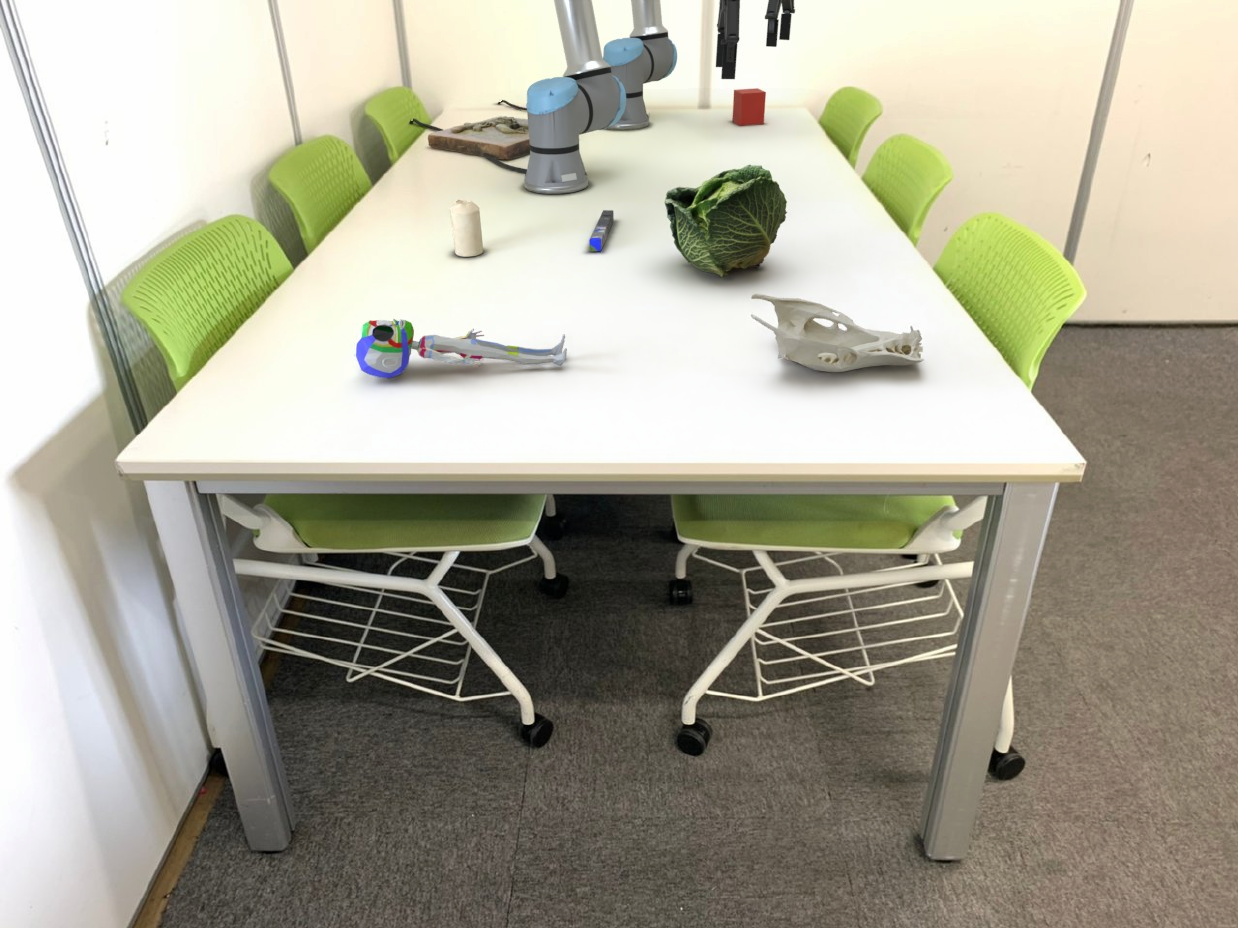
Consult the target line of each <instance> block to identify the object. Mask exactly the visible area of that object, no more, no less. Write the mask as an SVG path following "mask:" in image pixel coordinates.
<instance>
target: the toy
mask: <svg viewBox="0 0 1238 928" xmlns="http://www.w3.org/2000/svg"><path fill="white" fill-rule="evenodd" d="M474 331H475V328H472V329H471V330H469V331H468V332H467V333H466V334H465V335H463V336H458V337H449V336H448V337H447V336H442V335H439V334H428V335H423V336H421V338H420V339H419V341H417V340H414V336H415V329H414V326H413V324H412V322H410V321H408V320H407V319H399V320H397V319H395V318H392V320H387V319H379V320H368V321H367V322H365V323H364V324H362V326H361V329H360V331H359V333H358V334H357V338H356V340H355V342H354V354H353V355H354V357H355V359H356V362H357V364H358V366H359V369H360V370H361V372H364V373H366V374H367V375H370V376H373V377H377V378H382V379H383V378H384V379H392V378H394V377H396V376H398V375H400V374H401V375H402V374H403V372H404V371H405V370H406V368H407V367H408V366H409V364H410V357H411V355H412V350H415V351H417V353H418V356H419V357H421V358H422V359H430V360H434V361H438V362H442V363H444V364H449V365H458V364H459V365H461V364H465V365H471V366H477V367H479V368H480V367H481V366H482V365H483V363H482V362H478V361H480V360H482V359H487V360H488V359H489V360H503V361H509V362H514V363H517V364H520V365H528V366H529V365H542V364H550V363H553V364H555V365H557V366H559V367H562V366H563V364H564V362H565V361H566V360H567V357H568V355H567V353H568V348H566V347H565V348H564V345H565V340H566V334H565V333H563V334H562V338H561V340H560V341H559V343H558V344H556V345H555V346H554V347H552V348H533V347H532V348H531V347H523V346H518V345H517V346H516V345H504V344H501V343H498V342H494V341H488V340H482V339H478V338H479V337H480V338H481V337H485V334H480V333H482V332H483V331H482V330H479V331H476V332H474ZM563 349H564V350H563ZM453 353H455V354H457V355H459V357H458V356H455V355H448V354H453ZM445 354H447V355H445Z"/></svg>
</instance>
